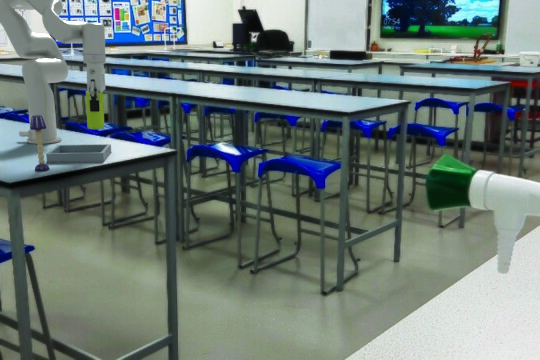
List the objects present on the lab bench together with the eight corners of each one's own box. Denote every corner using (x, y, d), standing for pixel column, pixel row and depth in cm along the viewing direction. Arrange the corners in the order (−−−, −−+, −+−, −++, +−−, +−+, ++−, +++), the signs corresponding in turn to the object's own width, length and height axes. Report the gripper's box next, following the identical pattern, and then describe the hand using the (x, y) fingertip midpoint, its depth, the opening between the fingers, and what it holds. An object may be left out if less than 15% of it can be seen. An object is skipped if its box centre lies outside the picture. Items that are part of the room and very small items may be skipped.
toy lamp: (30, 170, 183) (25, 116, 179) (41, 167, 188) (36, 114, 184) (43, 171, 182) (38, 116, 178) (53, 168, 186) (49, 115, 182)
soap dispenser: (102, 129, 214) (100, 73, 209) (84, 128, 215) (81, 72, 210) (109, 127, 219) (107, 71, 214) (92, 125, 221) (89, 70, 215)
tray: (46, 162, 194) (46, 153, 193) (58, 153, 210) (57, 145, 209) (103, 162, 196) (103, 153, 195) (111, 152, 211) (110, 144, 211)
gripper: (101, 60, 203) (103, 113, 208) (109, 57, 220) (110, 107, 224) (78, 60, 202) (81, 113, 207) (88, 57, 219) (90, 106, 224)
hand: (96, 109), depth 216 cm, fingers closed on soap dispenser, 6 cm apart
